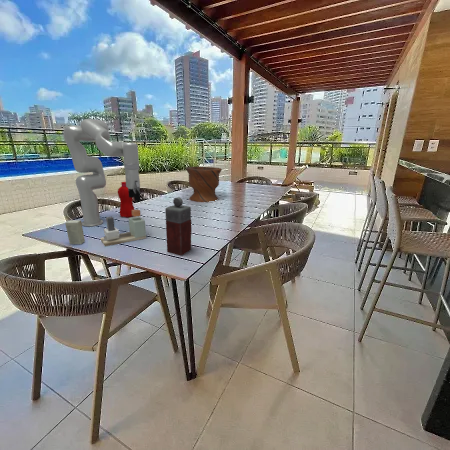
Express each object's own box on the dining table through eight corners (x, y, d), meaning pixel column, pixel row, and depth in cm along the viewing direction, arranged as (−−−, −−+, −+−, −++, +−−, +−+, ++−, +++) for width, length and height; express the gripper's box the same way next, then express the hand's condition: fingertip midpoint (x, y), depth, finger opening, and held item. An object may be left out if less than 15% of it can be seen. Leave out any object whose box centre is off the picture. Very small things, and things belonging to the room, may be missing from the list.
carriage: (104, 237, 136) (102, 216, 133) (116, 235, 140) (113, 215, 136) (108, 241, 131) (105, 220, 127) (119, 239, 135) (117, 218, 131)
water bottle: (132, 218, 176) (129, 183, 168) (118, 217, 178) (114, 182, 170) (139, 215, 184) (136, 181, 176) (125, 213, 186) (122, 180, 178)
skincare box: (85, 241, 135) (81, 220, 131) (81, 244, 131) (77, 222, 127) (73, 241, 135) (69, 219, 131) (68, 244, 131) (64, 222, 127)
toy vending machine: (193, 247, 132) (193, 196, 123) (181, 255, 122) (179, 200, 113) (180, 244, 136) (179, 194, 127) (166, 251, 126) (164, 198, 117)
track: (100, 240, 137) (99, 234, 136) (140, 232, 150) (139, 227, 149) (105, 246, 130) (104, 240, 128) (146, 238, 142) (145, 232, 141)
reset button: (132, 215, 140) (131, 210, 140) (138, 214, 143) (137, 209, 142) (134, 216, 138) (133, 211, 137) (140, 215, 140) (140, 210, 139)
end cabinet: (129, 232, 146) (128, 217, 143) (139, 230, 149) (138, 216, 146) (135, 237, 138) (134, 222, 135) (146, 235, 142) (144, 220, 139)
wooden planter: (200, 204, 220) (200, 171, 211) (179, 197, 244) (178, 167, 235) (228, 199, 243) (229, 169, 233) (206, 193, 267) (206, 166, 257)
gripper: (119, 165, 136) (123, 196, 141) (129, 169, 123) (132, 202, 128) (133, 165, 140) (136, 195, 146) (144, 168, 127) (147, 201, 133)
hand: (134, 198), depth 137 cm, fingers open, 8 cm apart
